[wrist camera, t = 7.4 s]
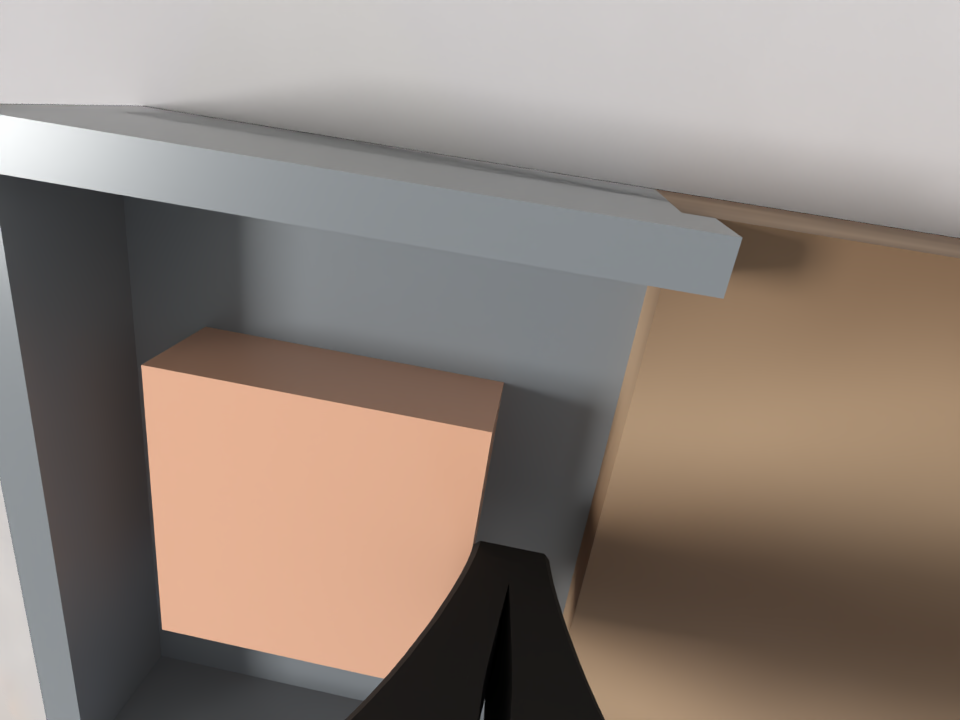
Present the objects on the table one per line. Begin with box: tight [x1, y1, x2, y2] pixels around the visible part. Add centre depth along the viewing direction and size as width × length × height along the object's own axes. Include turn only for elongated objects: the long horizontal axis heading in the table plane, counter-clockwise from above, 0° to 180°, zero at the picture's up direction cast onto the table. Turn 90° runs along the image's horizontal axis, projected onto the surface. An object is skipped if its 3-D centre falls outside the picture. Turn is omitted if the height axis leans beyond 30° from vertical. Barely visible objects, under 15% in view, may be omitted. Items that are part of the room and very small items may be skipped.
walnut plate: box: [563, 189, 960, 720], centre depth 13 cm, size 14×12×3 cm
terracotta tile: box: [141, 327, 504, 679], centre depth 12 cm, size 6×6×2 cm
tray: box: [0, 104, 742, 720], centre depth 13 cm, size 14×11×4 cm
